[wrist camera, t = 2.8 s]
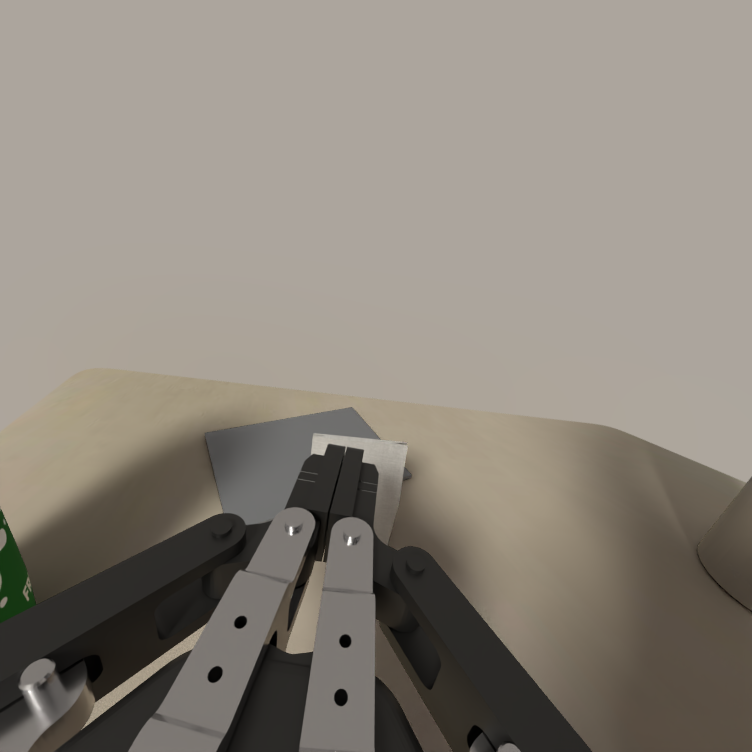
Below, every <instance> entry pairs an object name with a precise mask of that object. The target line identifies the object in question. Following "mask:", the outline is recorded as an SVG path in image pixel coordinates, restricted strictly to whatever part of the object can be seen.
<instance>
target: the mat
mask: <svg viewBox="0 0 752 752" xmlns="http://www.w3.org/2000/svg"><path fill="white" fill-rule="evenodd" d="M313 433H318V434H328V435H338V436H348V437H358V438H368V439H378V440H381V439H380V438H379V437H378V436H377V435H376V434H375V433H374V432H373V430H372V429H371V428H370V427H369V426H368V425H367V424H366V422H365V421H364V420H363V419H362V418H361V417H360V416H359V415H358V413H357V412H356V411H355V410H354V409H353V408H352V407H350V408H345V409H339V410H333V411H327V412H322V413H316V414H310V415H304V416H299V417H293V418H287V419H281V420H276V421H270V422H264V423H259V424H253V425H247V426H241V427H236V428H230V429H224V430H218V431H213V432H207V433H205V438H206V442H207V447H208V451H209V455H210V459H211V463H212V467H213V472H214V476H215V480H216V484H217V488H218V492H219V497H220V501H221V505H222V509H223V513H232V514H236V515H238V516H240V517H241V518H242V519H243V520H244V522H245V524H246V525H250V524H260V523H265V522H269V521H271V520H273V519H274V517H275V516H276V515H277V514H278V513H279V512H281V511H282V510H284V509H285V507H286V504H287V502H288V499H289V497H290V495H291V492H292V490H293V487H294V485H295V483H296V480H297V478H298V475H299V473H300V471H301V468H302V466H303V464H304V461H305V460H306V459H307V458H309V457H310V456H311V449H312V438H313ZM411 476H412V475H411V473H410V472H409V471H408V470H407V469H406V468H405V467H404V473H403V480H405V479H409V478H411Z"/></svg>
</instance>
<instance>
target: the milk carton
mask: <svg viewBox="0 0 752 752" xmlns="http://www.w3.org/2000/svg"><path fill="white" fill-rule="evenodd" d="M35 605H36V603H35V599H34V594H33V590H32V587H31V583H30V579H29V575H28V572H27V569H26V566H25V564H24V562H23V559H22V557H21V554H20V552H19V549H18V547H17V544H16V542H15V540H14V538H13V535H12V533H11V531H10V528H9V526H8V524H7V521H6V519H5V517H4V515H3V512H2V510H1V508H0V623H2V622H4V621H6V620H8V619H9V618H11V617H13V616H15V615H17V614H19V613H21V612H23V611H25V610H27V609H29V608H31V607H33V606H35Z"/></svg>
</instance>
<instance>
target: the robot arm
mask: <svg viewBox="0 0 752 752" xmlns="http://www.w3.org/2000/svg"><path fill="white" fill-rule="evenodd" d="M345 450H346V452H345ZM363 454H364V450H363V449H358V448H352V447H347V449H346V446H340V445H334V444H328V445H327V448H326V451H325V454H324V455H318V454H312V455H311V456H310V457H309V458H307V459H306V460H305V461H304V464H303V466H302V468H301V471H300V473H299V475H298V478H297V480H296V483H295V485H294V487H293V490H292V492H291V495H290V497H289V499H288V502H287V504H286V507H285V509H284V510H282V511H281V512H279V513H278V514H277V515H276V516H275V517H274V519H273V520H271V521H269V522H265V523H260V524H250V525H246V524H245V522H244V520H243V519H242V518H241V517H240V516H238V515H236V514H232V513H222V514H218V515H215V516H212V517H210V518H208V519H206V520H204V521H202V522H200V523H198V524H196V525H194V526H192V527H190V528H188V529H186V530H185V531H183V532H181V533H179V534H177V535H175V536H173V537H171V538H169V539H167V540H165V541H163V542H161V543H159V544H157V545H155V546H153V547H151V548H149V549H147V550H145V551H143V552H141V553H139V554H137V555H135V556H133V557H131V558H129V559H127V560H125V561H123V562H121V563H119V564H117V565H115V566H113V567H111V568H109V569H107V570H105V571H103V572H101V573H99V574H97V575H95V576H93V577H91V578H89V579H87V580H85V581H83V582H81V583H79V584H77V585H75V586H73V587H71V588H69V589H67V590H65V591H63V592H61V593H59V594H57V595H55V596H53V597H51V598H49V599H47V600H45V601H43V602H41V603H39V604H37V605H35V606H33V607H31V608H29V609H27V610H25V611H23V612H21V613H19V614H17V615H15V616H13V617H11V618H9V619H8V620H6V621H4V622H2V623H0V752H423V750H422V748H421V746H420V744H419V742H418V740H417V738H416V736H415V734H414V732H413V730H412V728H411V726H410V724H409V722H408V720H407V718H406V716H405V714H404V712H403V710H402V708H401V706H400V704H399V703H398V701H397V700H396V698H395V697H394V695H393V693H392V692H391V691H390V690H389V689H388V687H387V686H386V685H385V684H384V683H383V682H382V681H381V680H380V679H379V678H377V677H376V676H375V619H377V620H379V623H380V627H381V629H382V631H383V633H384V634H385V636H386V638H387V640H388V641H389V643H390V645H391V646H392V648H393V650H394V652H395V653H396V655H397V657H398V658H399V660H400V662H401V663H402V665H403V667H404V669H405V670H406V672H407V674H408V675H409V677H410V679H411V681H412V682H413V684H414V686H415V687H416V689H417V691H418V693H419V694H420V696H421V698H422V699H423V701H424V703H425V704H426V706H427V708H428V710H429V711H430V713H431V715H432V716H433V718H434V720H435V722H436V723H437V725H438V727H439V728H440V730H441V732H442V733H443V735H444V737H445V739H446V740H447V742H448V744H449V745H450V747H451V749H452V751H453V752H592V751H591V750H590V748H589V747H588V746H587V745H586V744H585V742H584V741H583V740H582V739H581V737H580V736H579V735H578V734H577V733H576V731H575V730H574V729H573V728H572V727H571V725H570V724H569V723H568V722H567V720H566V719H565V718H564V717H563V716H562V714H561V713H560V712H559V711H558V709H557V708H556V707H555V706H554V705H553V703H552V702H551V701H550V700H549V699H548V697H547V696H546V695H545V694H544V692H543V691H542V690H541V689H540V688H539V686H538V685H537V684H536V683H535V682H534V680H533V679H532V678H531V677H530V675H529V674H528V673H527V672H526V671H525V669H524V668H523V667H522V666H521V665H520V663H519V662H518V661H517V660H516V658H515V657H514V656H513V655H512V654H511V652H510V651H509V650H508V649H507V648H506V646H505V645H504V644H503V643H502V641H501V640H500V639H499V638H498V637H497V635H496V634H495V633H494V632H493V631H492V629H491V628H490V627H489V626H488V624H487V623H486V622H485V621H484V620H483V618H482V617H481V616H480V615H479V613H478V612H477V611H476V610H475V609H474V607H473V606H472V605H471V604H470V603H469V601H468V600H467V599H466V598H465V596H464V595H463V594H462V593H461V592H460V590H459V589H458V588H457V587H456V586H455V584H454V583H453V582H452V581H451V579H450V578H449V577H448V576H447V575H446V573H445V572H444V571H443V570H442V569H441V567H440V566H439V565H438V564H437V562H436V561H435V560H434V559H433V558H432V556H431V555H430V554H429V553H427V552H426V551H424V550H423V549H421V548H418V547H413V546H408V547H404V548H401V549H400V550H399V551H397V550H395V549H393V548H391V547H389V546H387V545H386V544H384V543H383V542H382V541H381V540H380V539H379V538H378V537H377V535H376V533H375V531H374V515H375V506H376V497H377V487H378V478H379V473H378V471H377V468H376V466H375V464H370V463H364V462H362V460H363ZM325 545H326V546H325ZM324 549H325V553H324ZM697 550H698V556H699V558H700V560H701V562H702V564H703V565H704V567H705V568H706V570H707V571H708V573H709V574H710V575H711V576H712V577H713V578H714V579H715V580H716V582H717V583H718V584H719V585H720V586H721V587H723V588H724V589H725V590H726V591H727V592H728V593H729V594H730V595H731V596H733V597H734V598H735V599H736V600H738V601H739V602H740V603H741V604H743V605H744V606H745V607H747V608H748V609H750V610H751V611H752V477H751V478H750V480H749V481H748V482H747V483H746V485H745V486H744V487H743V488H742V490H741V491H740V492H739V494H738V495H737V496H736V497H735V499H734V500H733V501H732V502H731V504H730V505H729V506H728V508H727V509H726V510H725V511H724V513H723V514H722V515H721V516H720V517H719V519H718V520H717V521H716V522H715V524H714V525H713V526H712V528H711V529H710V530H709V531H708V533H707V534H706V535H705V537H704V538H703V539H702V540H701V542H700V543H699V545H698V548H697ZM323 553H324V561H323V562H327V564H326V571H325V577H324V584H323V590H322V597H321V604H320V610H319V617H318V624H317V631H316V638H315V644H314V651H313V652H309V653H300V654H289V653H286V648H287V644H288V640H289V637H290V634H291V631H292V628H293V626H294V623H295V620H296V617H297V614H298V611H299V609H300V606H301V603H302V600H303V597H304V594H305V591H306V589H307V586H308V583H309V577H310V575H311V573H312V569H313V566H314V562H315V561H322V557H323ZM206 623H207V625H206V627H205V629H204V630H203V632H202V634H201V636H200V637H199V639H198V641H197V643H196V644H195V646H194V648H193V649H192V650H190V651H188V652H186V653H184V654H182V655H180V656H179V657H177V658H175V659H174V660H172V661H171V662H169V663H168V664H166V665H165V666H164V667H162V668H161V669H160V670H159V671H157V672H156V673H155V674H153V675H152V676H151V677H150V678H148V679H147V680H146V681H144V682H143V683H142V684H140V685H139V686H138V687H137V688H135V689H134V690H133V691H131V692H130V693H129V694H128V695H126V696H125V697H124V698H122V699H121V700H120V701H118V702H117V703H116V704H115V705H113V706H112V707H111V708H109V709H108V710H107V711H106V712H104V713H103V714H102V715H100V716H99V717H98V718H96V719H95V720H94V721H93V722H91V723H90V724H89V725H87V726H86V727H85V728H83V727H84V725H85V724H86V722H87V721H88V719H89V717H90V715H91V713H92V711H93V708H94V704H95V702H97V701H98V700H99V699H101V698H102V697H104V696H105V695H106V694H108V693H109V692H111V691H112V690H113V689H115V688H116V687H118V686H119V685H121V684H122V683H123V682H125V681H126V680H128V679H129V678H130V677H132V676H133V675H135V674H136V673H137V672H139V671H140V670H142V669H143V668H144V667H146V666H147V665H149V664H150V663H152V662H153V661H154V660H156V659H157V658H159V657H160V656H161V655H163V654H164V653H166V652H167V651H168V650H170V649H171V648H173V647H174V646H175V645H177V644H178V643H180V642H181V641H183V640H184V639H185V638H187V637H188V636H190V635H191V634H192V633H194V632H195V631H197V630H198V629H199V628H201V627H202V626H204V625H205V624H206ZM82 728H83V729H82ZM81 729H82V730H81Z"/></svg>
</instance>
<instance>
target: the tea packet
mask: <svg viewBox="0 0 752 752" xmlns="http://www.w3.org/2000/svg"><path fill="white" fill-rule="evenodd" d="M407 443H408V442H398V441H388V440H378V439H368V438H358V437H348V436H338V435H328V434H318V433H313V438H312V449H311V455H312V454H318V455H324V454H325V451H326V448H327V445H328V444H334V445H340V446H346V449H347V447H352V448H358V449H363V450H364V454H363V460H362V462H364V463H370V464H375V466H376V468H377V471H378V473H379V478H378V487H377V497H376V506H375V515H374V531H375V533H376V535H377V537H378V538H379V539H380V540H381V541H382V542H383V543H384V544H386V545H388V542H389V538H390V534H391V531H392V527H393V524H394V520H395V517H396V513H397V509H398V506H399V502H400V494H401V487H402V480H403V473H404V466H405V460H406V453H407V448H408V446H406V445H407ZM345 452H346V450H345Z"/></svg>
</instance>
